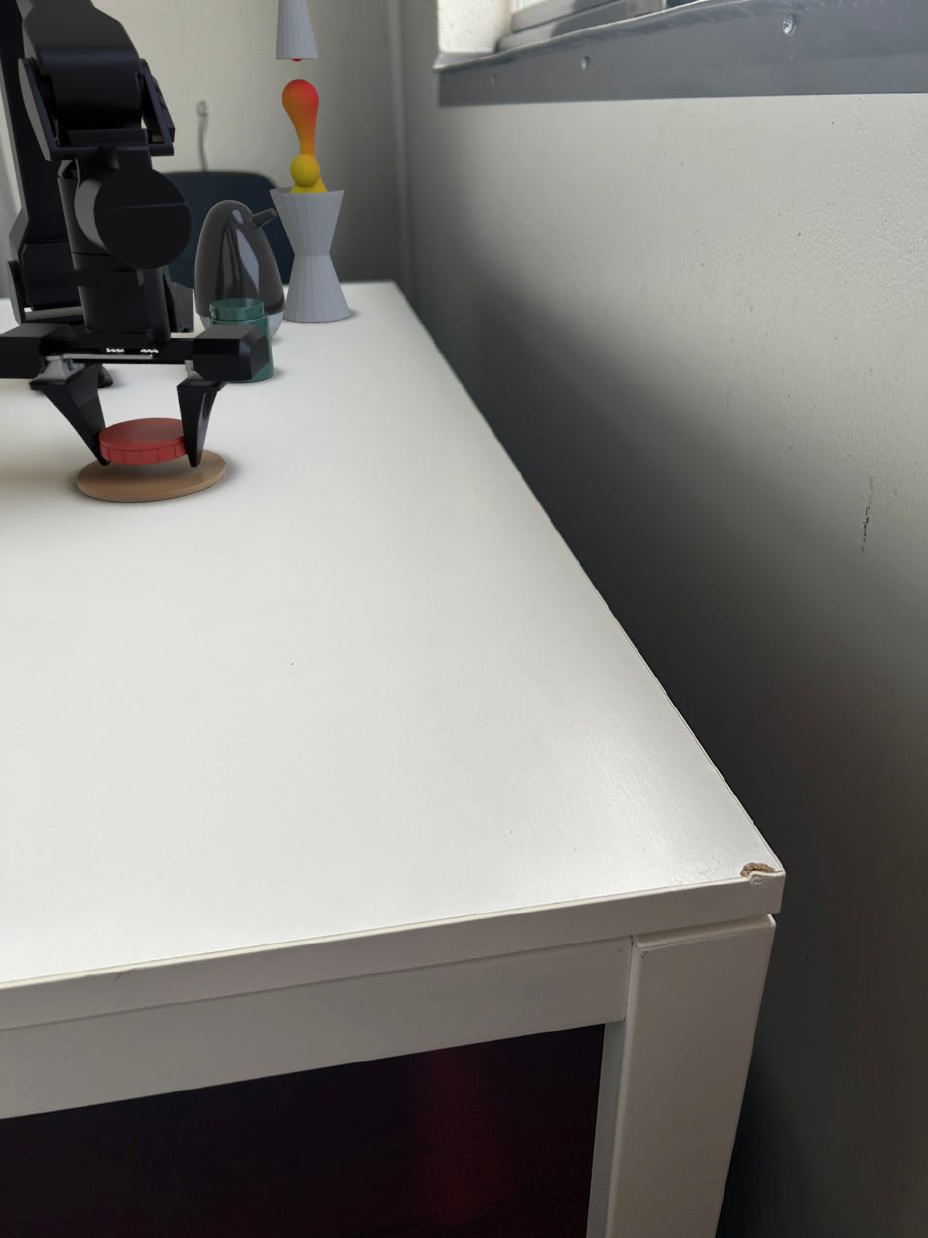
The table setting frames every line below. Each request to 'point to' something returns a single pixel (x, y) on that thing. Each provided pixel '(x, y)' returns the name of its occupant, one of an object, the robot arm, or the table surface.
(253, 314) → the jar
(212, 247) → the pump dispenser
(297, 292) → the lava lamp
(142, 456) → the jar lid
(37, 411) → the table surface
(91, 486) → the coaster
